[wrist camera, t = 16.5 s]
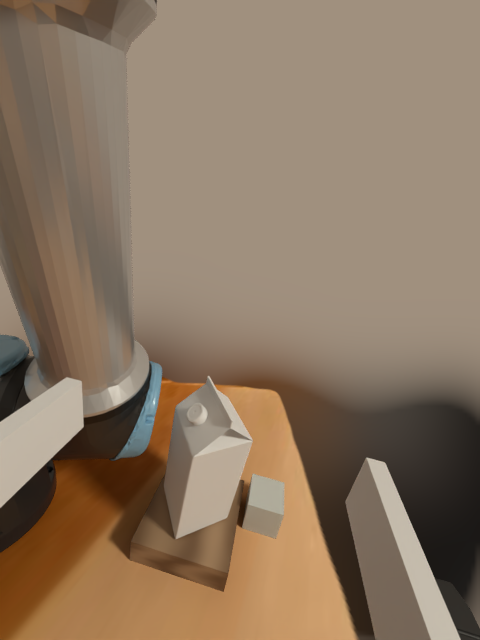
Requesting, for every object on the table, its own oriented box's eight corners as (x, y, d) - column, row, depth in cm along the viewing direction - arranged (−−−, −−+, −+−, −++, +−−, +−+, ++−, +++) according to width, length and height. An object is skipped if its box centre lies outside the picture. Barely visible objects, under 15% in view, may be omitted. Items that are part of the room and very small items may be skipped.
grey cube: (241, 528, 38) (248, 504, 36) (246, 496, 42) (252, 473, 41) (275, 539, 37) (283, 515, 35) (277, 505, 42) (284, 482, 40)
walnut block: (129, 562, 32) (130, 541, 31) (170, 477, 43) (172, 459, 42) (222, 594, 31) (228, 573, 30) (239, 498, 42) (244, 480, 41)
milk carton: (209, 471, 41) (234, 372, 33) (227, 519, 35) (262, 414, 27) (163, 485, 37) (179, 379, 30) (174, 541, 32) (198, 428, 24)
